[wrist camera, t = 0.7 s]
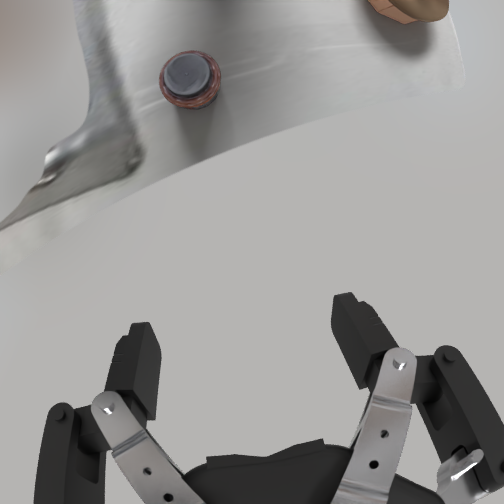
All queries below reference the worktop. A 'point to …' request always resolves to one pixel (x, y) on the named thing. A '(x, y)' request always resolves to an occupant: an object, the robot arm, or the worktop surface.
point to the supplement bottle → (190, 80)
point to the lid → (423, 9)
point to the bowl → (391, 11)
